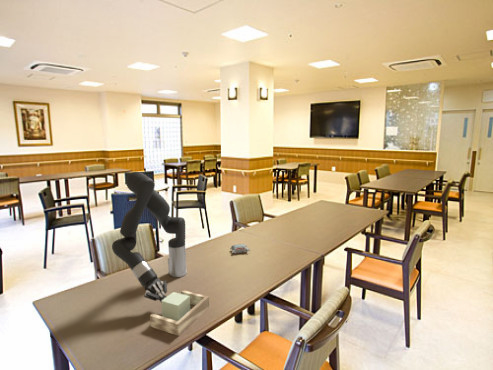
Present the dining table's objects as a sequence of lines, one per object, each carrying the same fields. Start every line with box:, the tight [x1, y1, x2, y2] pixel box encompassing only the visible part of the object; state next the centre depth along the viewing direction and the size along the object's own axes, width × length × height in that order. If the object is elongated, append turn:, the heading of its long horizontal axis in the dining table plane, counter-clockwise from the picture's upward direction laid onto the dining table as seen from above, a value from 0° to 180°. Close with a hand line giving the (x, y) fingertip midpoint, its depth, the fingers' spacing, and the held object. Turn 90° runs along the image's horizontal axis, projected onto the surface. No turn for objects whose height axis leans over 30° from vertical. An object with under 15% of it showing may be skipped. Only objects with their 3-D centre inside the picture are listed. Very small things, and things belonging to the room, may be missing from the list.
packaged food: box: [230, 243, 251, 254], centre depth 198 cm, size 9×12×5 cm
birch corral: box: [149, 289, 210, 337], centre depth 128 cm, size 14×22×5 cm, turn 155°
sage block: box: [160, 291, 191, 321], centre depth 128 cm, size 9×8×8 cm
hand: (167, 304), depth 130 cm, fingers closed
